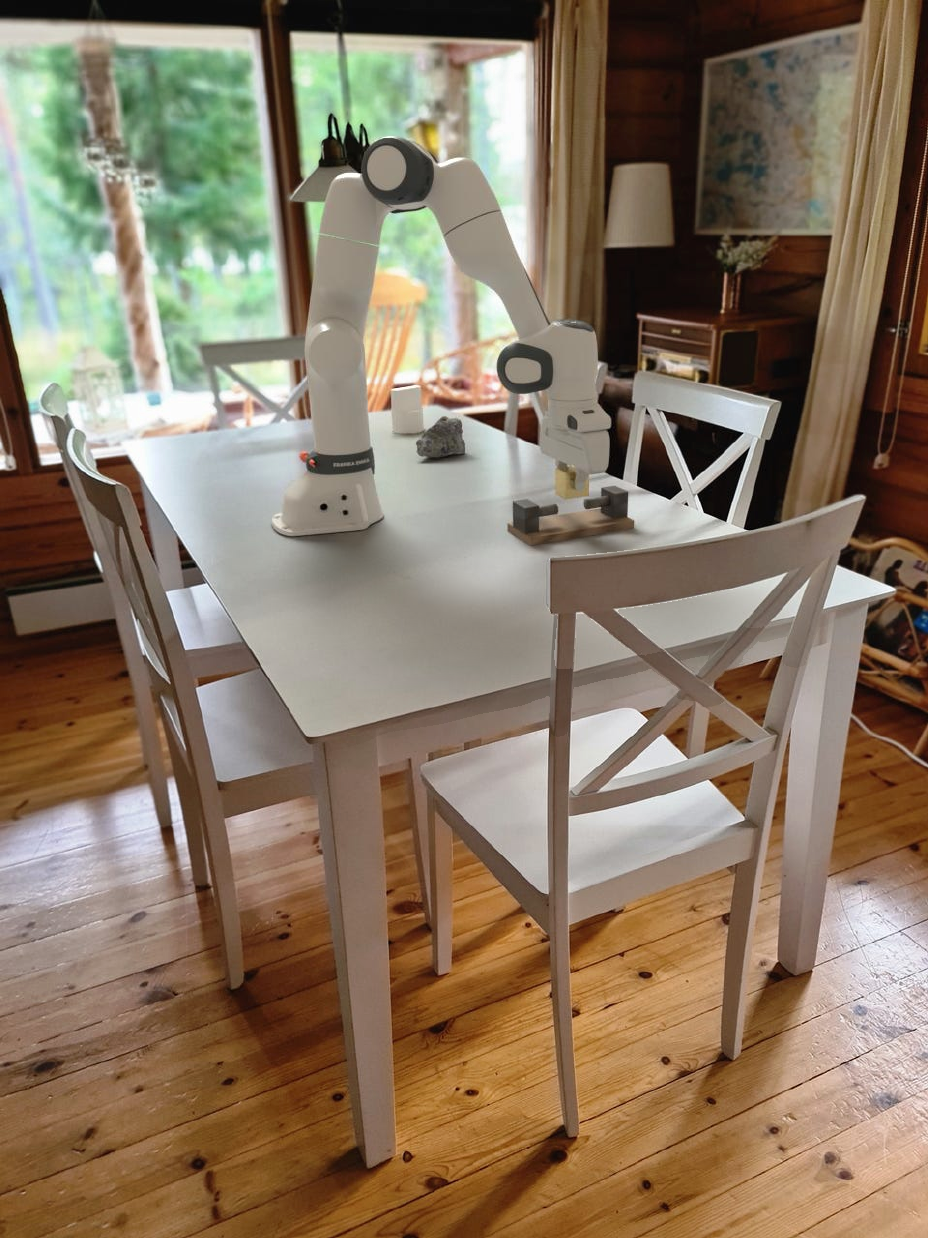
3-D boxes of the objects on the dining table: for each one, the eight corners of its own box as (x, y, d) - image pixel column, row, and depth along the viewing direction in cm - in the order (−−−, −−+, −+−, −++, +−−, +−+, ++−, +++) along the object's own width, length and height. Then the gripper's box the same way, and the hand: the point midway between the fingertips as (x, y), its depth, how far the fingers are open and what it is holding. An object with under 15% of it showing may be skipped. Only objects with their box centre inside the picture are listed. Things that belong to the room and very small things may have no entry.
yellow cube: (565, 499, 172) (565, 473, 170) (555, 494, 175) (555, 468, 173) (588, 495, 174) (589, 469, 172) (578, 490, 177) (578, 464, 175)
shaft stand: (530, 545, 169) (530, 511, 166) (507, 530, 178) (507, 497, 175) (634, 527, 176) (635, 494, 174) (607, 514, 185) (608, 482, 182)
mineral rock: (417, 462, 230) (415, 422, 226) (413, 452, 240) (411, 413, 236) (468, 459, 231) (467, 419, 227) (463, 449, 241) (461, 410, 237)
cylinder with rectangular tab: (411, 425, 271) (409, 383, 266) (430, 430, 264) (428, 387, 259) (386, 430, 266) (383, 388, 261) (404, 435, 259) (402, 391, 254)
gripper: (531, 405, 176) (531, 476, 182) (584, 424, 159) (583, 502, 164) (560, 402, 178) (560, 472, 184) (616, 420, 161) (614, 497, 166)
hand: (571, 486), depth 174 cm, fingers closed on yellow cube, 4 cm apart
